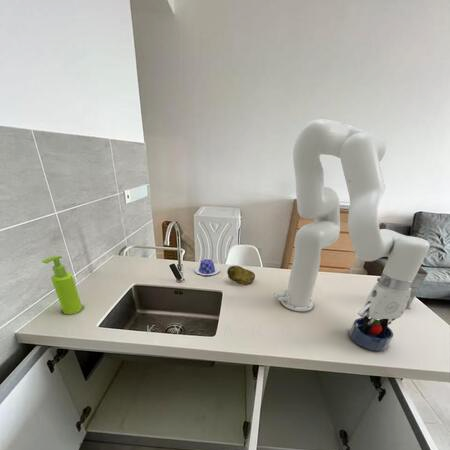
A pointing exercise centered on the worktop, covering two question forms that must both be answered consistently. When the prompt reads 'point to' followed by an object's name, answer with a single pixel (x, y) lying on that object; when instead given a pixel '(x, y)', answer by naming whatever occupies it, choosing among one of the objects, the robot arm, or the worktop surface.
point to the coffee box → (416, 284)
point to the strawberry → (376, 327)
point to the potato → (240, 275)
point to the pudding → (206, 268)
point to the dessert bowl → (370, 337)
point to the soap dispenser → (64, 286)
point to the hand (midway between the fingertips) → (372, 331)
